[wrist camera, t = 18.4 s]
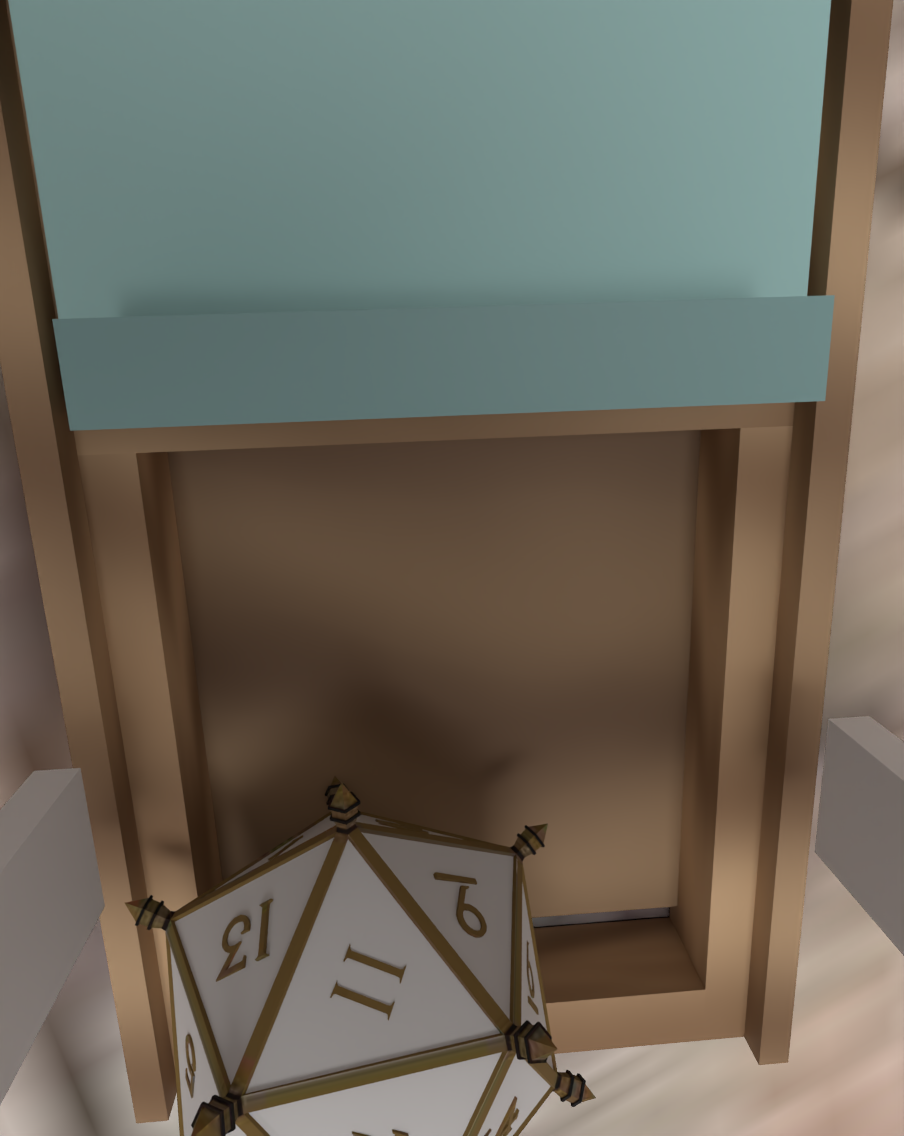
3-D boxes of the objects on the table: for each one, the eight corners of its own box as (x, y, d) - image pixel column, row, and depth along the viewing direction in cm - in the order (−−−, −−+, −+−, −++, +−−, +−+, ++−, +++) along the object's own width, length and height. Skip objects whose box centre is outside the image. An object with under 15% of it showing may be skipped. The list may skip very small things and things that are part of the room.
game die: (472, 607, 15) (689, 1281, 8) (541, 792, 22) (698, 1266, 15) (49, 753, 16) (-71, 1519, 9) (238, 893, 22) (254, 1404, 15)
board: (-62, -537, 13) (-216, -841, 9) (833, -505, 14) (969, -772, 10) (176, 1005, 21) (136, 1123, 17) (729, 958, 21) (788, 1062, 18)
